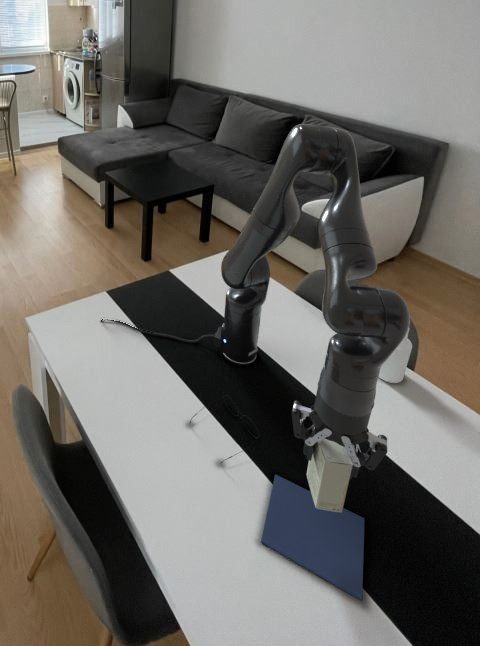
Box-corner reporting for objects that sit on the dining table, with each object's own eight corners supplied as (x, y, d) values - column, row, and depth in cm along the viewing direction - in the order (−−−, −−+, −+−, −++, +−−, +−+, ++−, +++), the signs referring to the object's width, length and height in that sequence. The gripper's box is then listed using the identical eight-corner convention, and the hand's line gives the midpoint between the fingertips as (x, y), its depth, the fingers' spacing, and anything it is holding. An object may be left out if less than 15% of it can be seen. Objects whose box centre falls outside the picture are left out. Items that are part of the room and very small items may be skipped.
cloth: (260, 542, 80) (260, 541, 80) (275, 475, 91) (275, 474, 90) (361, 601, 71) (362, 600, 71) (364, 519, 82) (364, 518, 82)
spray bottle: (398, 365, 114) (413, 312, 108) (406, 386, 108) (423, 331, 102) (368, 360, 116) (381, 307, 110) (375, 380, 110) (389, 325, 104)
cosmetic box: (342, 514, 74) (355, 467, 69) (314, 509, 74) (325, 462, 70) (330, 476, 79) (341, 431, 75) (304, 472, 80) (313, 427, 76)
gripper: (399, 395, 67) (378, 467, 73) (298, 360, 75) (287, 427, 81) (401, 435, 61) (378, 509, 68) (291, 392, 69) (280, 462, 75)
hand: (328, 464), depth 74 cm, fingers closed on cosmetic box, 5 cm apart
